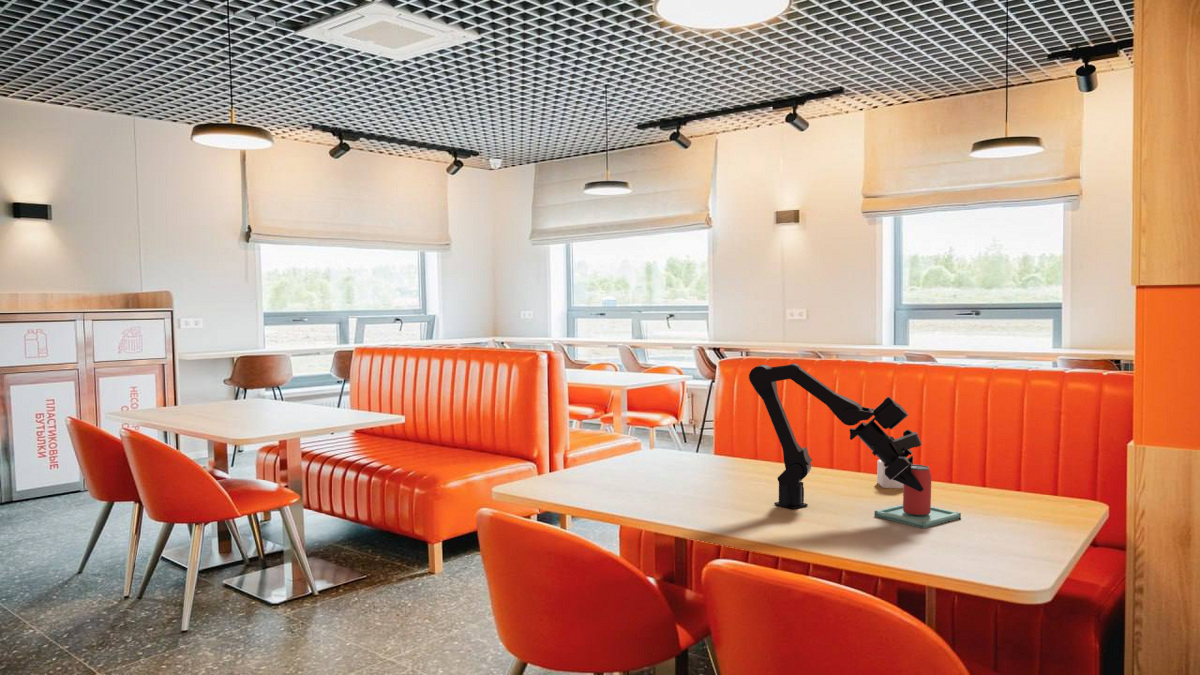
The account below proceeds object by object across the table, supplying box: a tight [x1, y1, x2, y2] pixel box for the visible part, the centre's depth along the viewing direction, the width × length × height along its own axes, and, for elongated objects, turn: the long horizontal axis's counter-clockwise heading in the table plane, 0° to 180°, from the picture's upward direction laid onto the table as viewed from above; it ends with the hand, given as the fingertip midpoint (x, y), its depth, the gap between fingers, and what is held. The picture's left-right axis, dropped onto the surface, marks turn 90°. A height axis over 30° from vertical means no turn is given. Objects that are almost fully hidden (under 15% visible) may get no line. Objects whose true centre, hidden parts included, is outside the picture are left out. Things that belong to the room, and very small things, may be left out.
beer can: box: [902, 464, 932, 516], centre depth 208 cm, size 7×7×12 cm
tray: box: [873, 503, 962, 529], centre depth 209 cm, size 16×14×1 cm
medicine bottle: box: [876, 459, 904, 489], centre depth 245 cm, size 7×7×12 cm
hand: (922, 487), depth 208 cm, fingers closed on beer can, 6 cm apart
